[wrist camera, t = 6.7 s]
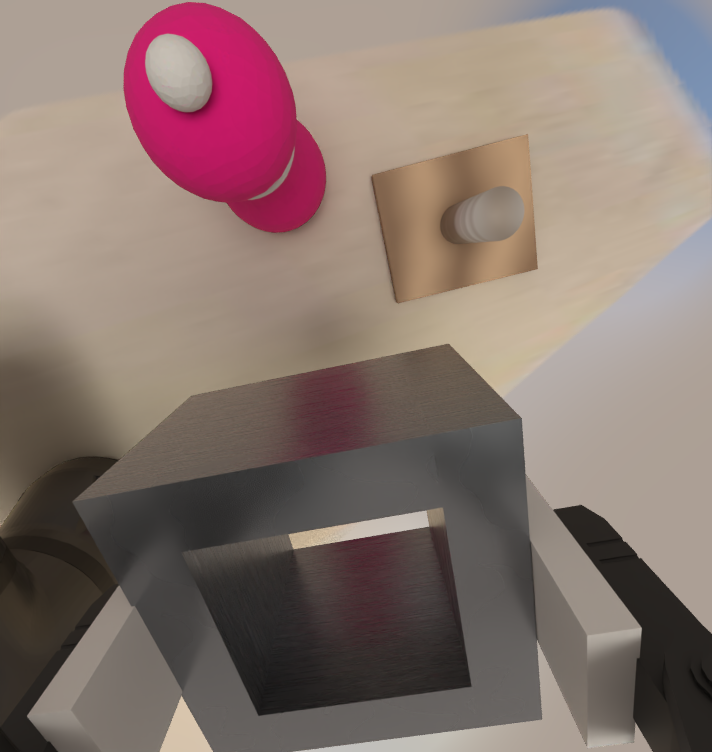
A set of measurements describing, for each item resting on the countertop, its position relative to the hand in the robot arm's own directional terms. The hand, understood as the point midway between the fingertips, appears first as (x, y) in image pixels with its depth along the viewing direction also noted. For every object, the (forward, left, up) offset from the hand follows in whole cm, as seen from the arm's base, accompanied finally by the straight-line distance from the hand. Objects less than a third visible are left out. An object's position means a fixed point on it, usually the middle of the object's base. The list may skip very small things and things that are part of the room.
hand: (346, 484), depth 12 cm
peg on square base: (+11, +7, -22) cm, 26 cm away
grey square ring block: (0, 0, 0) cm, 0 cm away
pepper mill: (-2, +13, -22) cm, 26 cm away
